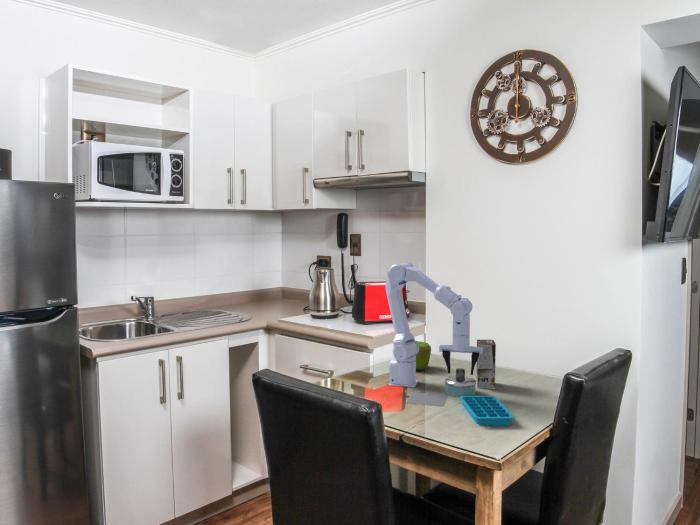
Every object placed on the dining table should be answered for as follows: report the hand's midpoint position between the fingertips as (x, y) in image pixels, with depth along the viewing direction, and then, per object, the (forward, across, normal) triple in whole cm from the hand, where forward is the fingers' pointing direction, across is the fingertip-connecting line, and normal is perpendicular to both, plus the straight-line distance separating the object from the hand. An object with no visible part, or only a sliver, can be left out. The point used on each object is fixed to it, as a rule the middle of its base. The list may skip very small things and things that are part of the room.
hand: (460, 373), depth 185 cm
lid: (+3, 0, 0) cm, 3 cm away
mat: (+7, -10, -10) cm, 16 cm away
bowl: (+7, 0, 0) cm, 7 cm away
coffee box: (+7, +8, +12) cm, 16 cm away
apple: (+7, -20, +29) cm, 36 cm away
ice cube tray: (+8, +9, -19) cm, 22 cm away
